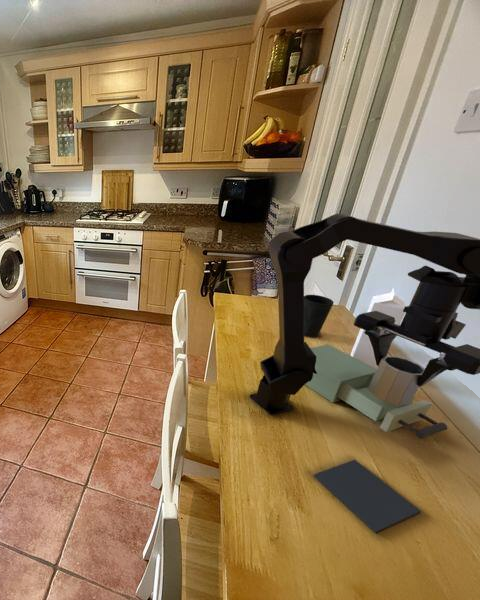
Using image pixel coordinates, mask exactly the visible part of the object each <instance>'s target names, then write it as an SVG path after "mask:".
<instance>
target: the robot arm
mask: <svg viewBox="0 0 480 600" xmlns="http://www.w3.org/2000/svg"><path fill="white" fill-rule="evenodd" d="M346 241H352V242H357V243H360V244H365V245H370V246H374V247H378V248H383V249H387V250H391V251H395V252H399V253H404V254H407V255H408V254H409V255H412V256H415V257H418V258H420V259H422V260H425V261H426V262H429V263H431V264H434V265H436V266H439V267H441V268H443V269H447V270H449V271H445V270H444V271H443V270H435V268H432V267H431V266H428V265H423V266H421V267H419V268H418V269H414V270H412V271H409V272H408V273H407V276H408V277H409V278H412V279H414V280H416V281H418V282H419V284H418V285H417V288H416V290H415V292H414V294H413V296H412V298H411V300H410V303H409V305H405V307H404V310H403V312H405V314H404V316H403V318H402V320H401V323H400V325H397V324H394V323H395V318H394V317H392V316H389V315H386V314H384V313H381V312H378V311H372V312H363V313H359V314H358V315H357V316H356V317H355V319H354V321H353V326H354V327H357V328H359V329H363V330H366V331H365V332H364V334H366V335H368V337H369V339H370V342H371V345H372V348H373V351H374V356H375V360H376V365H377V366H379V364H380V362H381V359H382V358H383V357H384V356H388V353H389V351H390V348H391V345H392V344H393V343H392V342H393V341H394V340H395V339H396V338H397V337H399V338H402V339H403V340H404V339H405V340H406V341H410V342H412V343H414V344H417V345H420V346H422V347H424V348H427V349H429V350H432V351H434V352H436V353H439V357H435V358H432V359H430V360H429V361H428V362H427V364H426V366H425V367H424V369H425V370H424V372H423V373H422V375H421V377H420V379H419V382H418V386H419V387H420V388H421V387H424V386H425V385H427V384H428V383H429V382H431V381H432V380H433V379H435V378H436V377H437V376H440V374H442V373H443V372H445V371H451V372H452V371H455V370H457V371H459V372H462V373H465V374H466V375H472V376H475V375H479V374H480V348H479V347H476V346H473V345H471V344H469V343H468V344H467V343H466V344H462V345H458V346H454V345H451V344H449V343H447V342H444V341H441V340H442V339H443V340H445V341H447V340H450V339H451V338H452V339H454V340H456V339H457V337H458V336H459V335H460V333H461V332H462V331H463V330H464V328H465V327H466V325H467V324H466V323H463V322H461V321H459V320H457V318H458V314H459V312H457V310H458V308H459V306H460V304H461V305H462V307H464V308H466V309H470V310H479V311H480V238H478V237H474V236H470V235H467V234H463V233H458V232H450V231H449V232H448V231H447V232H446V231H417V230H416V231H415V230H412V229H407V228H402V227H398V226H394V225H388V224H384V223H379V222H375V221H372V220H371V221H370V220H366V219H361V218H357V217H354V216H351V215H348V214H345V213H334V214H332V215H329V216H327V217H326V218H324V219H321V220H319V221H316V222H312V223H309V224H306V225H303V226H300V227H297V228H295V229H293V230H292V231H283V232H279V233H277V234H276V235H274V236H273V237H272V239H270V240H269V243H268V247H267V248H268V249H267V250H268V254H269V257H270V261H271V265H272V267H273V270H274V272H275V276H276V278H277V298H278V299H277V301H278V324H279V325H278V326H279V327H278V332H279V334H278V335H279V338H278V341H277V343H276V344H275V346H274V352H273V355H271V356H269V357H267V358H265V359H263V360H261V361H259V365H260V369H261V371H262V373H263V375H262V378H261V379H260V380H259V383H258V387H257V391H256V392H255V393H251V394H250V395H249V398H250V399H251V400H252V401H254V403H256V404H257V405H258V406H259V407H260V408H261V409H263V410H264V411H265V412H266V413H268V414H269V415H270V416H275V415H278V414H281V413H284V412H289V411H292V410H294V406H293V405H292V404H290V403H289V401H290V399H291V395H292V396H295V395H296V394H298V392H299V391H301V389H302V388H303V387H304V386H305V384H306V383H307V382H310V381H311V380H312V378H313V373H315V374H317V372H316V370H315V364H316V355H315V354H314V353H313V351H312V350H311V348H312V347H310V345H309V344H308V343H307V342H306V341H305V336H304V296H305V281H306V278H307V277H308V275H309V273H310V271H311V268H312V264H313V260H314V259H315V258H317V257H320V256H322V255H325V254H326V253H328V252H330V251H331V250H332V249H333V248H335V247H336V246H337V245H339V244H340V243H342V242H346ZM456 273H457V274H461V275H465V277H464V276H458V275H457V274H456Z"/></svg>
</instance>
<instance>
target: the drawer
mask: <svg viewBox="0 0 480 600" xmlns="http://www.w3.org/2000/svg"><path fill="white" fill-rule="evenodd" d="M373 377H374V375H372V376H369V377H365V378H361V379H358V380H354V381H350V382H346V383H343V384H342V386H341V388H340V391H339V393H338V396H337V397H339V398H340V399H342V400H341V401H343V402H344V403H346V404H348V405H349V406H351V407H353V408H354V409H356V410H357V411H359V412H361V414H363V415H365V416H367V417H368V418H370V419H372V421H374V422H378V421H382V422H381V424H380V426H379V429H381V430H382V431H383V432H385V433H387V432H390V431H393V430H396V429H399V428H402V427H405V428H406V429H408V430H409V431H411V432H413V433H414V435H415V437H417V438H418V439H425V438H427V437H430V436H432V435H436V434H439V433H441V432H443V431H446V430H448V425H447V424H446V423H445V422H441V421H440V422H437V421H436V420H434V419H432V418H430V417H429V416H427V414H428V412H429V410H430V408H431V406H432V404H433V403H432V402H430V401H428V400H426V399H423V400H420V401H417V402H414V403H413V401H414V399H415V396H414V397H413V399H412V400H411V402H410V404H409V405H408V406H398V405H394V404H391V403H388V402H385V401H383V400H381V399H379V398H377V397H376V396H374V395H373V394H372V393H371V392H370V390H369V389H368V387H369V385H370V383H371V381H372V379H373ZM423 420H424V421H426V422H428V423H430V424H431V425H429V426H425V427H423V428H420V429H417V428H416V427H414V426H412V425H411V424H414V423H416V422H419V421H423Z"/></svg>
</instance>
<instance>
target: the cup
mask: <svg viewBox="0 0 480 600" xmlns="http://www.w3.org/2000/svg"><path fill="white" fill-rule="evenodd" d="M334 303H335V302H334V301H333V300H332V299H331V298H329V297H327V296H323V295H317V294H304V337H306V338H318V336H319V335H320V333H321V330H322V328H323V326H324V324H325V322H326V320H327V318H328V316H329V314H330V311H331V310H332V307H333V306H334Z"/></svg>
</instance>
